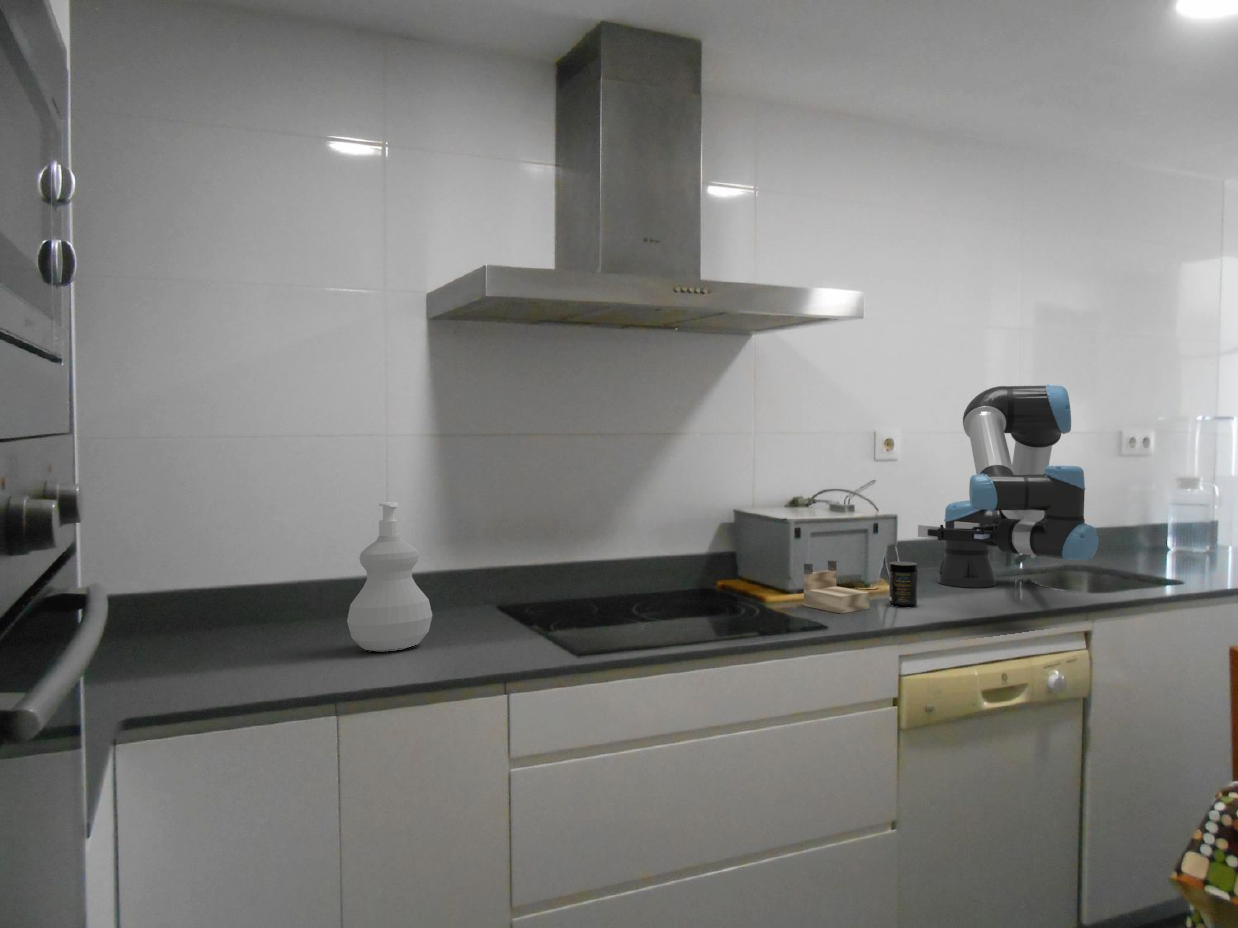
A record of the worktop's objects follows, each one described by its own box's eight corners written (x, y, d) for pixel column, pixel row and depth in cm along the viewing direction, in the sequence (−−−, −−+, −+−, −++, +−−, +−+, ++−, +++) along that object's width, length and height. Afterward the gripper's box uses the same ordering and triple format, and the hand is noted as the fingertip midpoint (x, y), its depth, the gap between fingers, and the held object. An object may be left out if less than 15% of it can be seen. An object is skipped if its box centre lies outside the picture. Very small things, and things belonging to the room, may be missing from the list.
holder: (831, 601, 229) (831, 560, 229) (869, 608, 219) (869, 565, 219) (803, 605, 223) (803, 563, 223) (840, 613, 214) (841, 569, 213)
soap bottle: (355, 660, 173) (353, 506, 171) (341, 647, 183) (338, 502, 181) (440, 648, 181) (438, 502, 180) (422, 637, 191) (420, 498, 190)
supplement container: (921, 607, 220) (922, 565, 220) (894, 608, 220) (894, 565, 219) (911, 602, 227) (911, 561, 226) (884, 603, 226) (884, 561, 226)
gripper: (986, 558, 190) (903, 548, 207) (1052, 549, 204) (969, 541, 221) (986, 522, 190) (903, 515, 207) (1052, 516, 204) (969, 510, 221)
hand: (937, 528), depth 214 cm, fingers open, 13 cm apart
